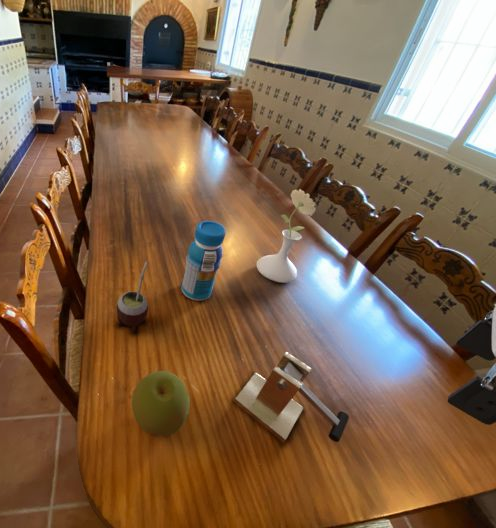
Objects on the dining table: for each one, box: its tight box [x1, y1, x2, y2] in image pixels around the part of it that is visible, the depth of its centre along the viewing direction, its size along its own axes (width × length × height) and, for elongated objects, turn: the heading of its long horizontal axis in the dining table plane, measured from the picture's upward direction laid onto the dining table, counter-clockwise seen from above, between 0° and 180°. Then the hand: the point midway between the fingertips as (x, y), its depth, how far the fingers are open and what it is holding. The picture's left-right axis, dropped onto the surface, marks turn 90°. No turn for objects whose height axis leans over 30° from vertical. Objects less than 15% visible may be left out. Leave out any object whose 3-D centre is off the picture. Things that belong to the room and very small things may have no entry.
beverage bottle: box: [180, 220, 226, 301], centre depth 74 cm, size 8×8×20 cm
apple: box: [131, 370, 191, 437], centre depth 50 cm, size 10×10×11 cm
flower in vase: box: [256, 188, 317, 284], centre depth 81 cm, size 13×11×25 cm
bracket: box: [233, 351, 312, 443], centre depth 52 cm, size 10×8×13 cm
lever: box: [280, 362, 350, 443], centre depth 48 cm, size 12×5×2 cm, turn 46°
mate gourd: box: [116, 260, 149, 335], centre depth 66 cm, size 8×8×15 cm
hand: (469, 378), depth 31 cm, fingers open, 9 cm apart
